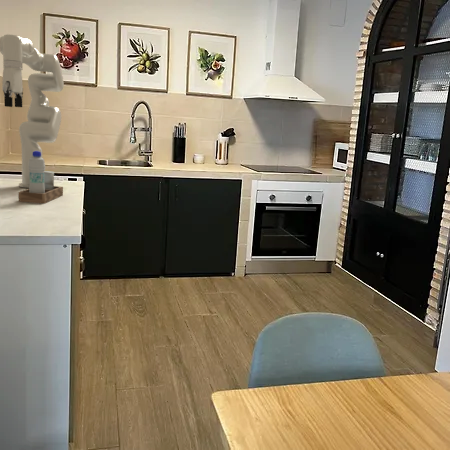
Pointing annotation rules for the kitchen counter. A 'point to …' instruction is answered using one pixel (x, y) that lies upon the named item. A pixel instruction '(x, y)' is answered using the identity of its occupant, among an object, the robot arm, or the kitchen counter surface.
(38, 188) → the bottle
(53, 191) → the wooden divided box
